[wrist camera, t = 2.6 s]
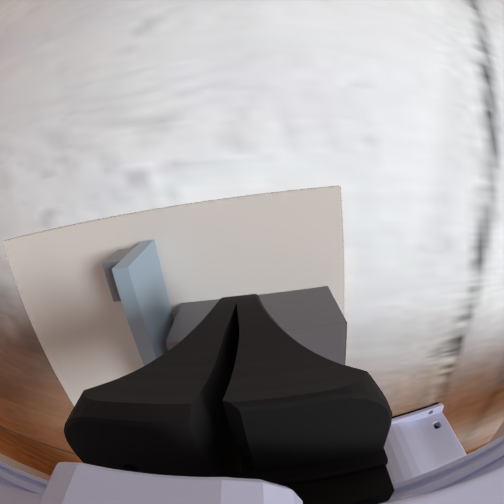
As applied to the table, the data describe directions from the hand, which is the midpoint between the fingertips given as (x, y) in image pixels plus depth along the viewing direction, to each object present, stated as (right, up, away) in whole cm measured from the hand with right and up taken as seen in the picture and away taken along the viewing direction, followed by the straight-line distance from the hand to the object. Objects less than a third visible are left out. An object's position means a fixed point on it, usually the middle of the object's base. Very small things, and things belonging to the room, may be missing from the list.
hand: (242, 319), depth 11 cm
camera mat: (-5, -3, +8) cm, 10 cm away
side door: (-5, -3, +7) cm, 9 cm away
